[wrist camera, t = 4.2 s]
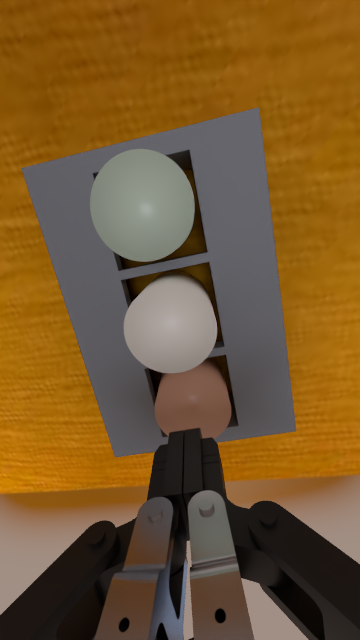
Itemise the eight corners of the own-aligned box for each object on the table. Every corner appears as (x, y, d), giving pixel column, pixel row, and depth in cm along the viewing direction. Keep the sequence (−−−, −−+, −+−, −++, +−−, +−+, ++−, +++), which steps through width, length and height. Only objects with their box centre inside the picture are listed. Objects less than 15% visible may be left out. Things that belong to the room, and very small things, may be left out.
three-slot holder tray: (277, 397, 22) (296, 431, 18) (128, 420, 23) (115, 457, 19) (244, 136, 17) (258, 107, 13) (57, 182, 18) (21, 168, 14)
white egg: (150, 344, 19) (136, 380, 14) (134, 279, 18) (112, 294, 13) (216, 332, 18) (224, 365, 14) (203, 265, 17) (208, 275, 12)
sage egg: (129, 261, 17) (106, 270, 13) (110, 185, 16) (76, 163, 11) (200, 246, 17) (203, 250, 12) (185, 166, 16) (183, 136, 11)
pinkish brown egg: (169, 403, 22) (163, 448, 17) (156, 350, 21) (146, 384, 16) (226, 394, 21) (236, 438, 17) (216, 339, 20) (224, 371, 15)
